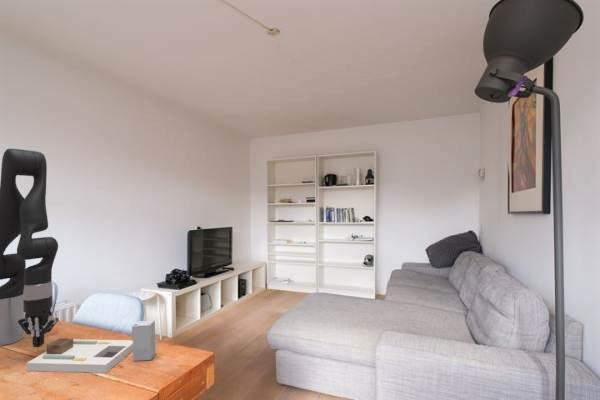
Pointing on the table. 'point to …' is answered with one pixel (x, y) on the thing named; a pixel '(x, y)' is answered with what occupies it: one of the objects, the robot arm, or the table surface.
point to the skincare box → (143, 340)
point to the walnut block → (60, 346)
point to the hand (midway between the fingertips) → (38, 346)
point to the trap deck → (84, 357)
